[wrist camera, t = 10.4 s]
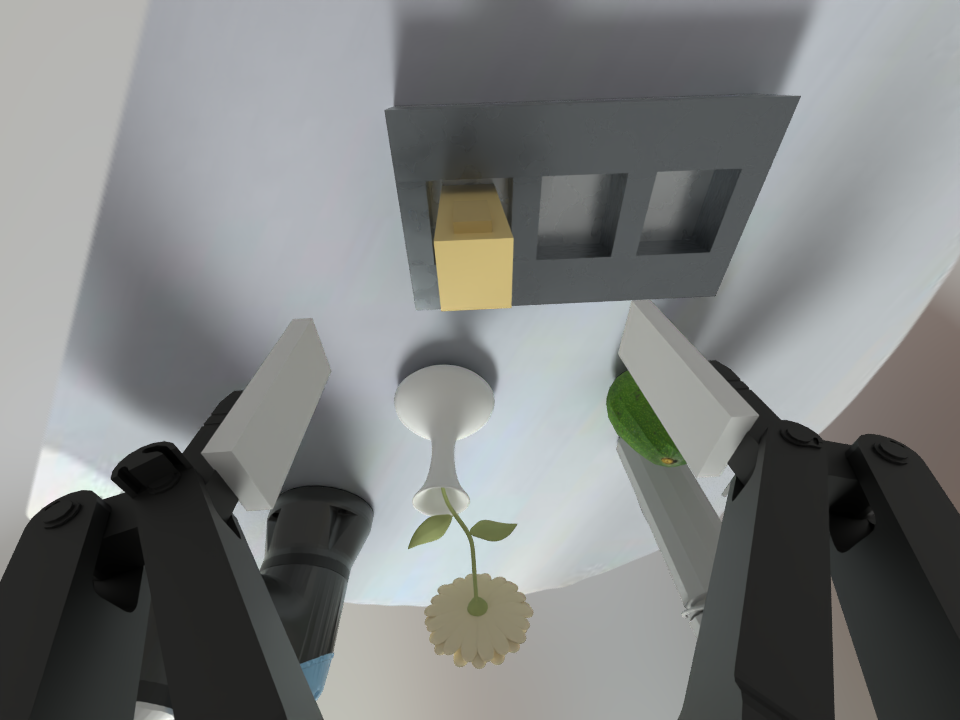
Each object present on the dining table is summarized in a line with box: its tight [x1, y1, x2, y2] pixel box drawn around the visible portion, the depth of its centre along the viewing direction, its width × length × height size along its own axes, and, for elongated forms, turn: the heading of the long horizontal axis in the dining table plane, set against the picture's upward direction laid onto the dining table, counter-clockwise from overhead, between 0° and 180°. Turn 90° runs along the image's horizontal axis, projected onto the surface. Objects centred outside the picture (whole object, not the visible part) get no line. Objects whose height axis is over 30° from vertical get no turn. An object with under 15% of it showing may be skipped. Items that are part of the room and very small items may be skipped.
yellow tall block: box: [434, 184, 514, 311], centre depth 24 cm, size 4×5×12 cm
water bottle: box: [616, 437, 722, 639], centre depth 40 cm, size 9×8×25 cm
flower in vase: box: [394, 365, 533, 669], centre depth 32 cm, size 13×11×25 cm
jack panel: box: [385, 94, 801, 311], centre depth 28 cm, size 26×14×4 cm, turn 91°
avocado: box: [606, 371, 687, 467], centre depth 37 cm, size 8×8×12 cm
